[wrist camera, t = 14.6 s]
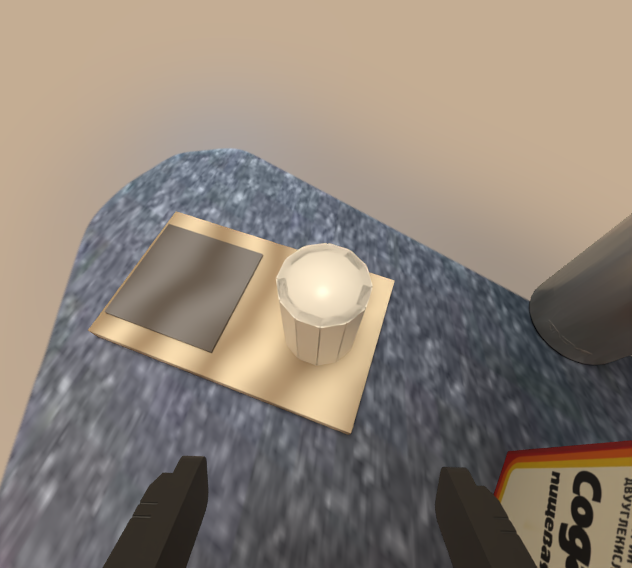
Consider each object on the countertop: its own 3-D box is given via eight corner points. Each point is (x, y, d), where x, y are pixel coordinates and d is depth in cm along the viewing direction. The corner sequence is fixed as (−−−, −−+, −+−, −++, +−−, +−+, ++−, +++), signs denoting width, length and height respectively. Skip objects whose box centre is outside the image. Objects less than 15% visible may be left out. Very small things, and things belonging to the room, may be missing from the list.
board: (96, 336, 32) (85, 328, 30) (180, 220, 39) (174, 209, 37) (348, 435, 28) (351, 433, 27) (391, 287, 35) (395, 278, 33)
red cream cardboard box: (559, 643, 22) (982, 936, 8) (466, 575, 24) (692, 724, 10) (589, 502, 26) (911, 540, 12) (508, 451, 28) (710, 433, 14)
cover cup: (323, 286, 33) (328, 229, 25) (369, 334, 31) (390, 288, 23) (270, 325, 31) (258, 276, 23) (315, 379, 29) (318, 346, 21)
